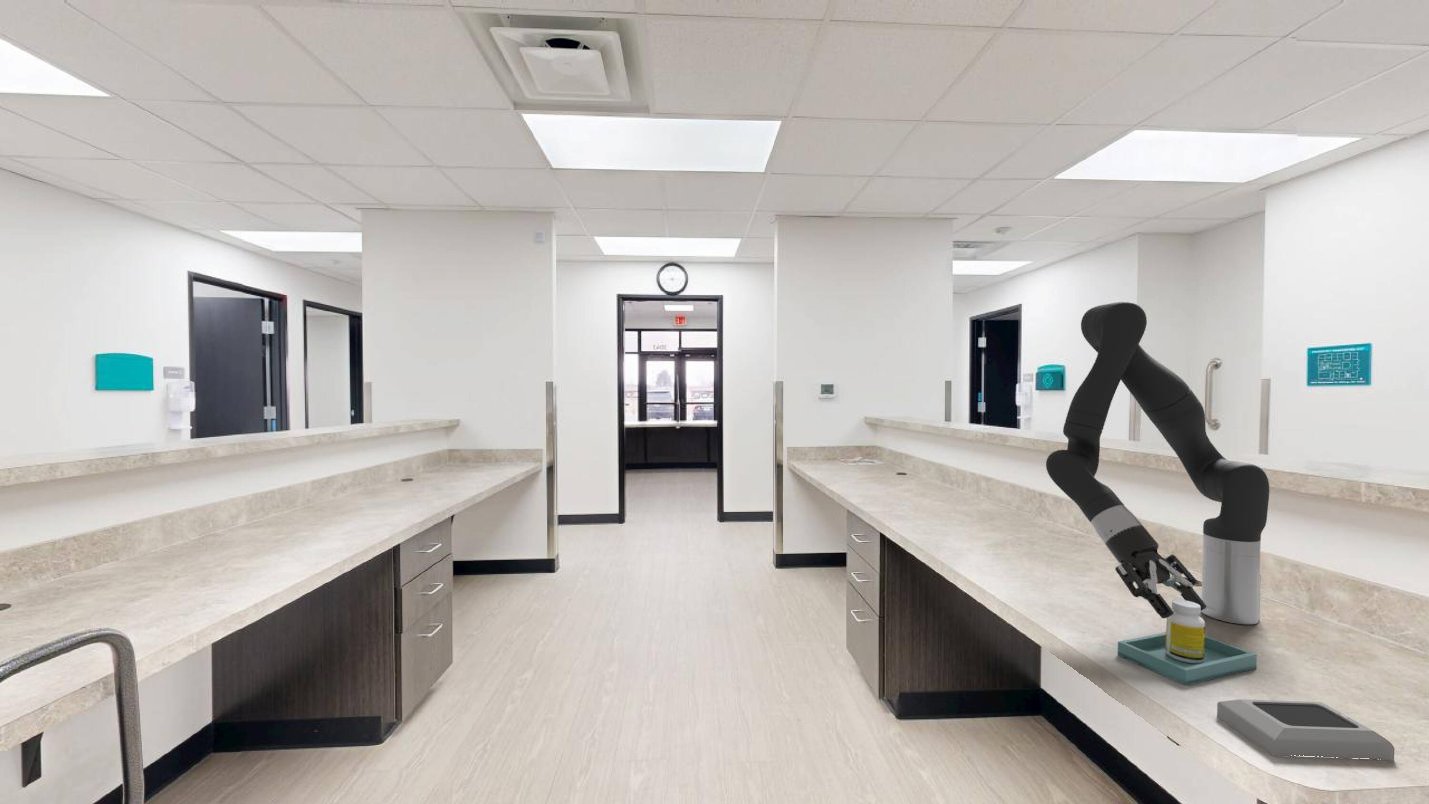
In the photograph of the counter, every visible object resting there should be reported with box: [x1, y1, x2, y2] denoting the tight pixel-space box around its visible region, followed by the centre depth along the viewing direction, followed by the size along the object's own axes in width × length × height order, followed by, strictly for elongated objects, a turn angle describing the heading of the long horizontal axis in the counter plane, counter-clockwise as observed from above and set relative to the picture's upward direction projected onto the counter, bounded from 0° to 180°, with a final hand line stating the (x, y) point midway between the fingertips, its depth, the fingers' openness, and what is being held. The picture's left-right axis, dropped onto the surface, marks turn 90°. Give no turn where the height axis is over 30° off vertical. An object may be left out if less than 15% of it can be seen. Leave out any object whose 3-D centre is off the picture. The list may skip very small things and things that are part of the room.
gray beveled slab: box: [1216, 699, 1396, 762], centre depth 83 cm, size 10×4×15 cm
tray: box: [1117, 631, 1258, 686], centre depth 105 cm, size 18×12×2 cm, turn 109°
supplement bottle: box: [1165, 599, 1206, 663], centre depth 105 cm, size 5×5×10 cm
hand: (1185, 613), depth 105 cm, fingers open, 8 cm apart
